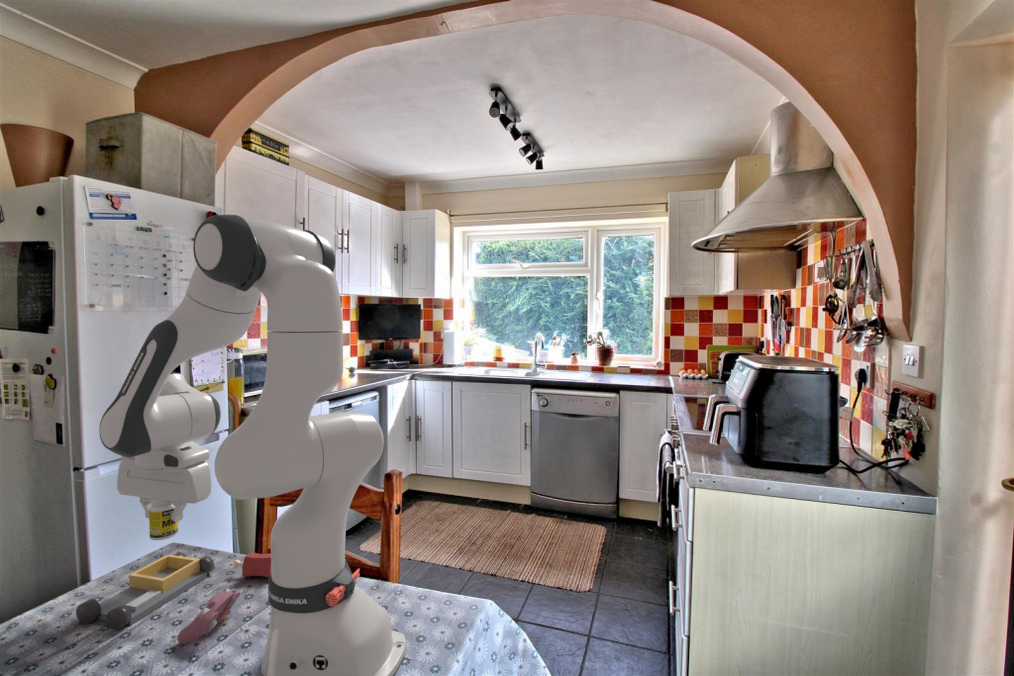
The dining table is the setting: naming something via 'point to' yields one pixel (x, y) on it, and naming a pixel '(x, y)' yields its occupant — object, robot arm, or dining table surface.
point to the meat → (255, 565)
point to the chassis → (147, 590)
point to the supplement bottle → (161, 520)
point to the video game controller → (209, 616)
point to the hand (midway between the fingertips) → (164, 518)
